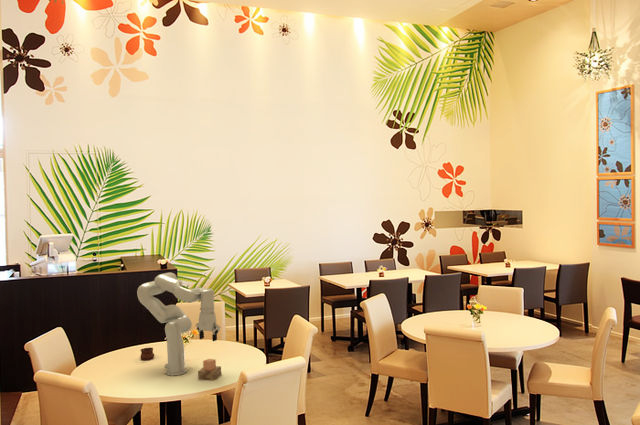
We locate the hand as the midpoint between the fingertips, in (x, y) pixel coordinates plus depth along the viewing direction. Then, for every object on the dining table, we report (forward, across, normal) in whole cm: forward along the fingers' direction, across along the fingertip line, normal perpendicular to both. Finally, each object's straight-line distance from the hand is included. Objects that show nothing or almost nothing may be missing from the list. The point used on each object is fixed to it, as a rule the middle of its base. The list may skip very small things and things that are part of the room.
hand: (208, 339), depth 302 cm
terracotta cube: (+17, +1, 0) cm, 17 cm away
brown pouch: (+23, -62, +11) cm, 67 cm away
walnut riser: (+22, +1, 0) cm, 22 cm away
